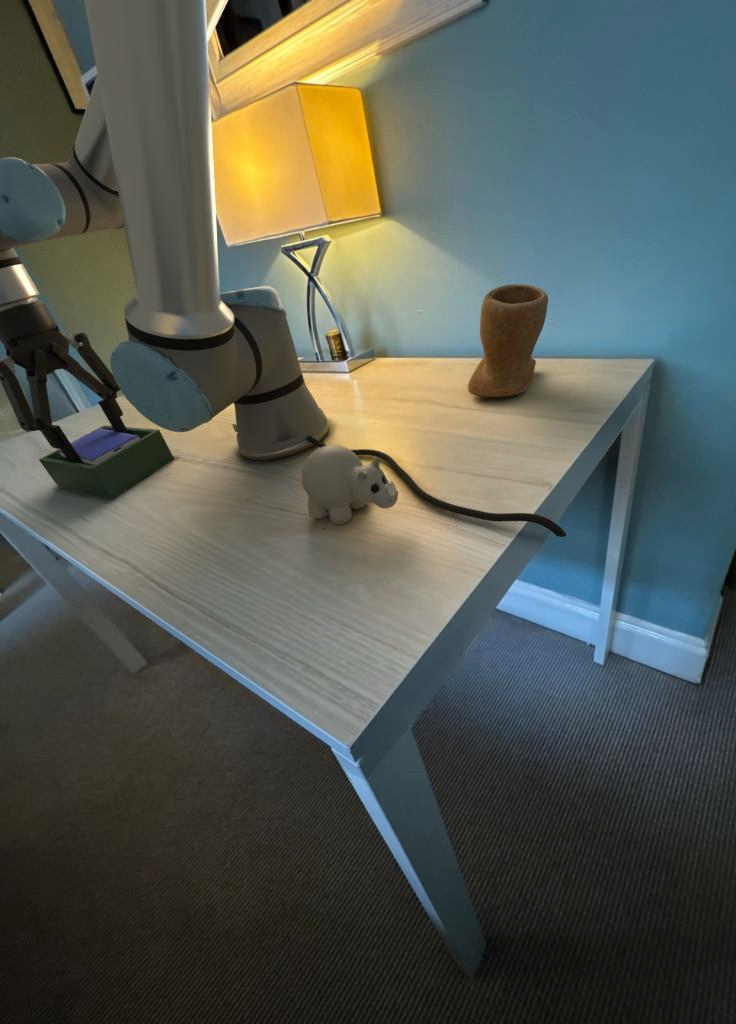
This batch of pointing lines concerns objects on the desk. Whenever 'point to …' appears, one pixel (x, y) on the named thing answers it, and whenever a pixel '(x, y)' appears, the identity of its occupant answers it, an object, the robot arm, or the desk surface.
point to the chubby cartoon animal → (344, 484)
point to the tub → (111, 466)
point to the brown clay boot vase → (508, 339)
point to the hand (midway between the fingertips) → (101, 448)
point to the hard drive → (101, 445)
